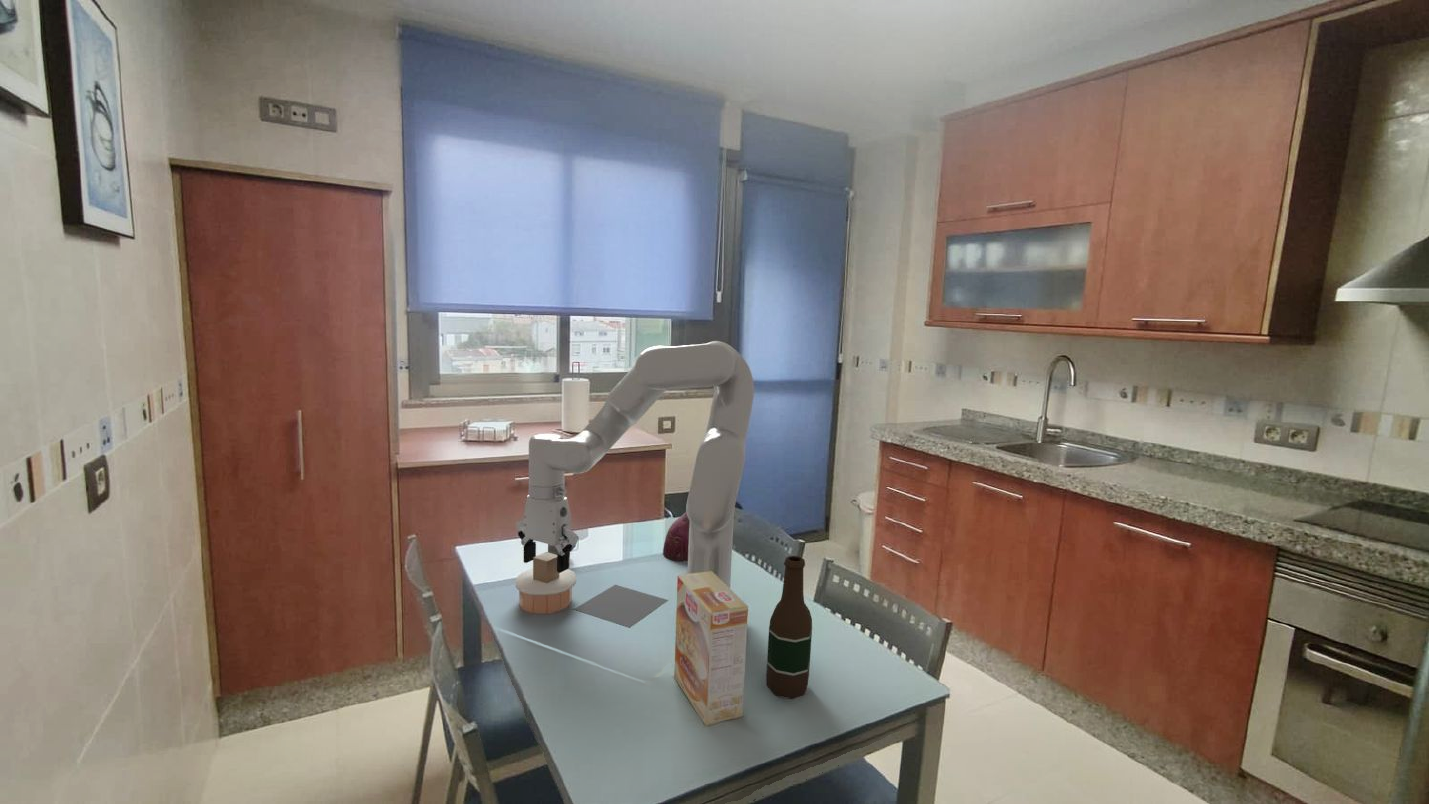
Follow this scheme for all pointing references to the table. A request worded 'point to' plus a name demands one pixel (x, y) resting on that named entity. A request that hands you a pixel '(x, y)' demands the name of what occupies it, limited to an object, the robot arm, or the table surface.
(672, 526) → the vegetable
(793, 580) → the beer bottle
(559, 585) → the lid
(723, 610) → the coffeecake box
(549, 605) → the bowl
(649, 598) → the mat
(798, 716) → the table surface
